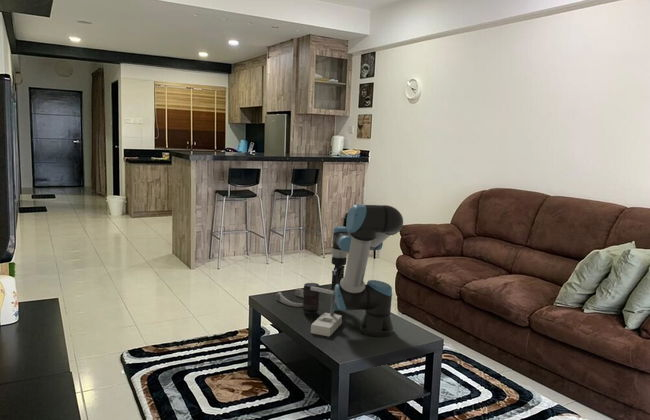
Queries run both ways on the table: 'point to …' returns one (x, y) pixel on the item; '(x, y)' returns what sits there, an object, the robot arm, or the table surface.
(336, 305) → the plug
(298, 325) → the table surface
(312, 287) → the grey square bar
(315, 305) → the camera lens
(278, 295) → the neck fan
